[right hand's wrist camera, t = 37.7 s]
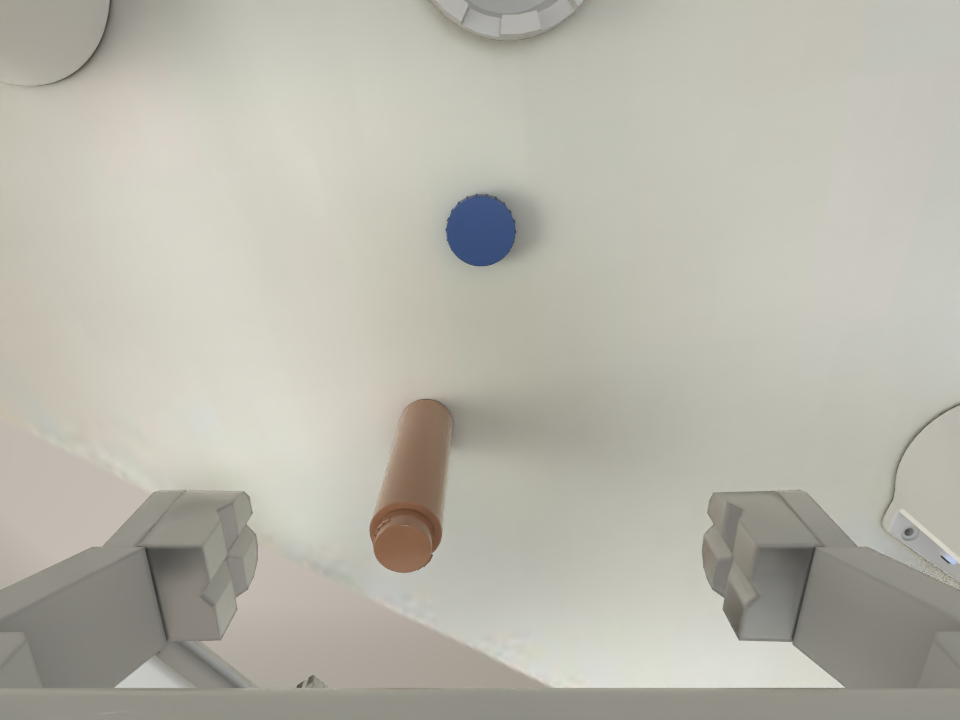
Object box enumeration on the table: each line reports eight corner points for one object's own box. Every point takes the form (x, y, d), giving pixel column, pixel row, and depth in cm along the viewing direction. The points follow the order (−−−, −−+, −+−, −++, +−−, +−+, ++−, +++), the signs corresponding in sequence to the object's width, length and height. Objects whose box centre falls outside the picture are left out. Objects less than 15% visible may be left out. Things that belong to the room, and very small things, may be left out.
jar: (392, 433, 52) (353, 563, 36) (413, 390, 51) (382, 506, 35) (439, 453, 53) (421, 590, 37) (461, 411, 52) (452, 534, 35)
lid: (526, 212, 46) (528, 215, 44) (495, 273, 47) (496, 278, 46) (464, 181, 45) (464, 182, 43) (436, 244, 47) (434, 248, 45)
